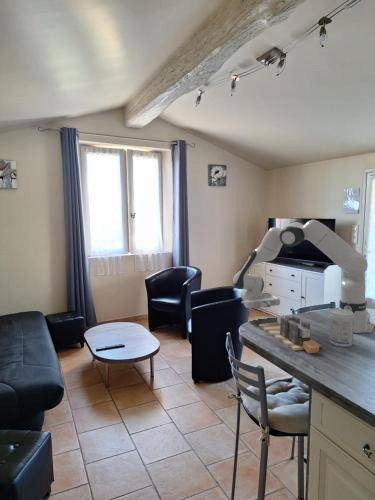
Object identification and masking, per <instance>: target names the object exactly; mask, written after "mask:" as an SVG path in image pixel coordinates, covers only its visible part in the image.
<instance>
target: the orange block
mask: <svg viewBox="0 0 375 500" xmlns="http://www.w3.org/2000/svg"><path fill="white" fill-rule="evenodd" d="M314 341H315V340H314V339H311V341H304V342H303V348H304V350H305V352H306V353H308V355H309V354H317V353H319V350H320V348H319V346H318V345H317V344H316V343H315V342H316V341H315V342H314Z"/></svg>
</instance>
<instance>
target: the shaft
mask: <svg viewBox="0 0 375 500" xmlns="http://www.w3.org/2000/svg"><path fill="white" fill-rule="evenodd" d="M283 317H284V318H286V319H288V329H289V330H290V323H295V324H297V325H298V335H299V336H300V337H302V338H308V337H310V338H311V328H310V329H308V328H306V327H304V326H302V325H301V323H300V324H299V323H297V322H295V321H293V320H292V317H290V316H288V315H277V316H276V322H277V323H279V324H280V318H283Z"/></svg>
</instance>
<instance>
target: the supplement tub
mask: <svg viewBox="0 0 375 500" xmlns="http://www.w3.org/2000/svg"><path fill="white" fill-rule="evenodd" d="M329 314H330V315H329V316H330V317H329V319H330V320H329V342H330V343H331V344H332V345H334V346H336V347H343V348H349V347H352V346H353V343H354V332H353V325H354V316H353V312H352V311H349V310H345V309H339V308H335V309H331V310H330V313H329Z"/></svg>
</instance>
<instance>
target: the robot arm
mask: <svg viewBox="0 0 375 500" xmlns="http://www.w3.org/2000/svg"><path fill="white" fill-rule="evenodd" d="M305 240H307V241H309V242H310V243H311V244H312V245H314V247H316V248H317V249H318V250H320V252H322V253H323V254H324V255H325V256H327V257H328V258H329V259H330V260H331V261H332V262H333V263H334V264H336V266H338V267H339V268H340V299H339V303H338V305H339V306H338V309H345V310H349V311H352V312H353V316H354V325H353V334H354V333H355V334H357V333H359V334H362V333H368V334H370V333H371V334H372V333H373V331H374V329H375V322H372V321H371V314H370V313H369V311H368V310H367V304H368V301H367V300H366V272H367V270H368V267H369V265H368V261H367V259H366V257H365V256H364V255H362V253H361V252H358V251H357V250H356V249H355V248H354V247H353V246H351V245H350V244H349V243H348V242H346V241H345V240H344V239H343V238H341V236H339V235H338V233H335V232H334V231H333V230H332V229H331V228H329V227H328V226H327V225H326V224H324V223H322V222H320V221H319V220H316V219H311V220H308V221H307V222H305V223H304V222H302V221H298V220H295V221H292V222H290V223H288V224H286V226H284V227H283V228H279V227H274V226H273V227H270V228H269V229H268V230H267V231H266V234H265V235H264V237H263V238H262V241H261V242H260V245H259V246H258V247H256V248H255V249H254V250H251V252H249V254H248V255H247V256H246V258H245V260H244V262H243V263H242V264H241V266H240V268H239V269H238V270H237V271H236V272H235V273H234V274H233V277H232V280H231V281H232V285H233V286H234V288H235V289H237V290H241V291H240V297H241V299H242V301H241V304H243V307H245V308H246V309H255V308H256V309H260V308H271V307H272V306H273V307H274V306H280V305H281V298H279V297H278V296H276V295H273V294H272V293H269V292H268V293H266V292H263V290H264V287H265V282H264V279H263V276H261V275H258V274H253V273H249V272H250V270H251V269H252V267H253V266H254V265H256V264H259V263H260V264H261V263H264V262H270V261H273V260H275V259H276V258H277V257H278V255H279V253H280V251H281V248H282V247H283V246H286V247H294V246H297V245H298V244H301V243H302V242H303V241H305Z"/></svg>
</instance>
